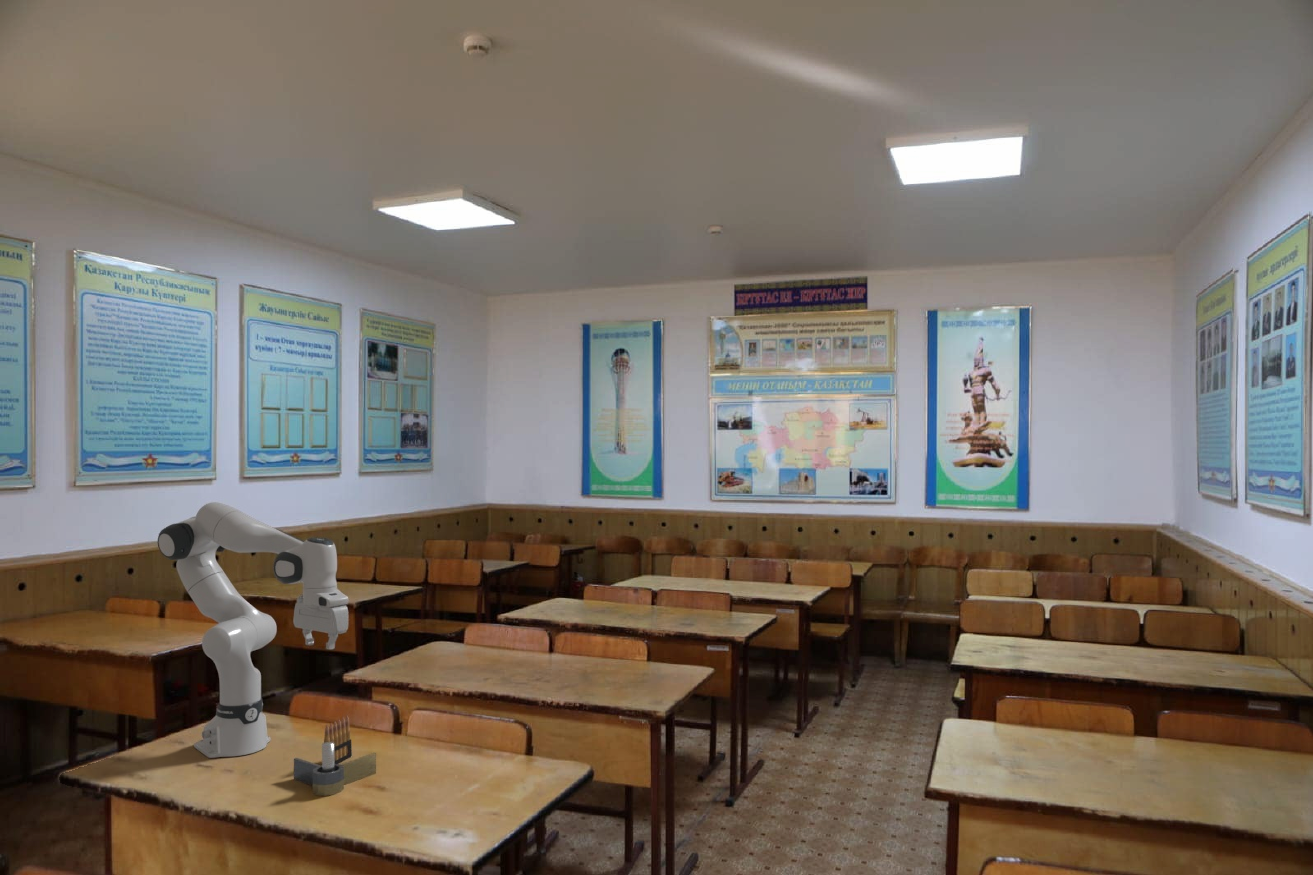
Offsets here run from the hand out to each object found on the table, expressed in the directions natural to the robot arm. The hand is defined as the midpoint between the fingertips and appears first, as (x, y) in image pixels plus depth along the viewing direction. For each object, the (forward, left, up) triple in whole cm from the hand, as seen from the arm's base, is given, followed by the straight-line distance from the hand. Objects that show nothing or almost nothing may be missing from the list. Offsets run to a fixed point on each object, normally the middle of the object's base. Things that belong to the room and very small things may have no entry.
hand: (319, 646), depth 237 cm
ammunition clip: (-2, +7, -34) cm, 35 cm away
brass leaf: (+14, -2, -34) cm, 37 cm away
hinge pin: (+14, -7, -34) cm, 37 cm away
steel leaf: (+9, -7, -34) cm, 36 cm away
